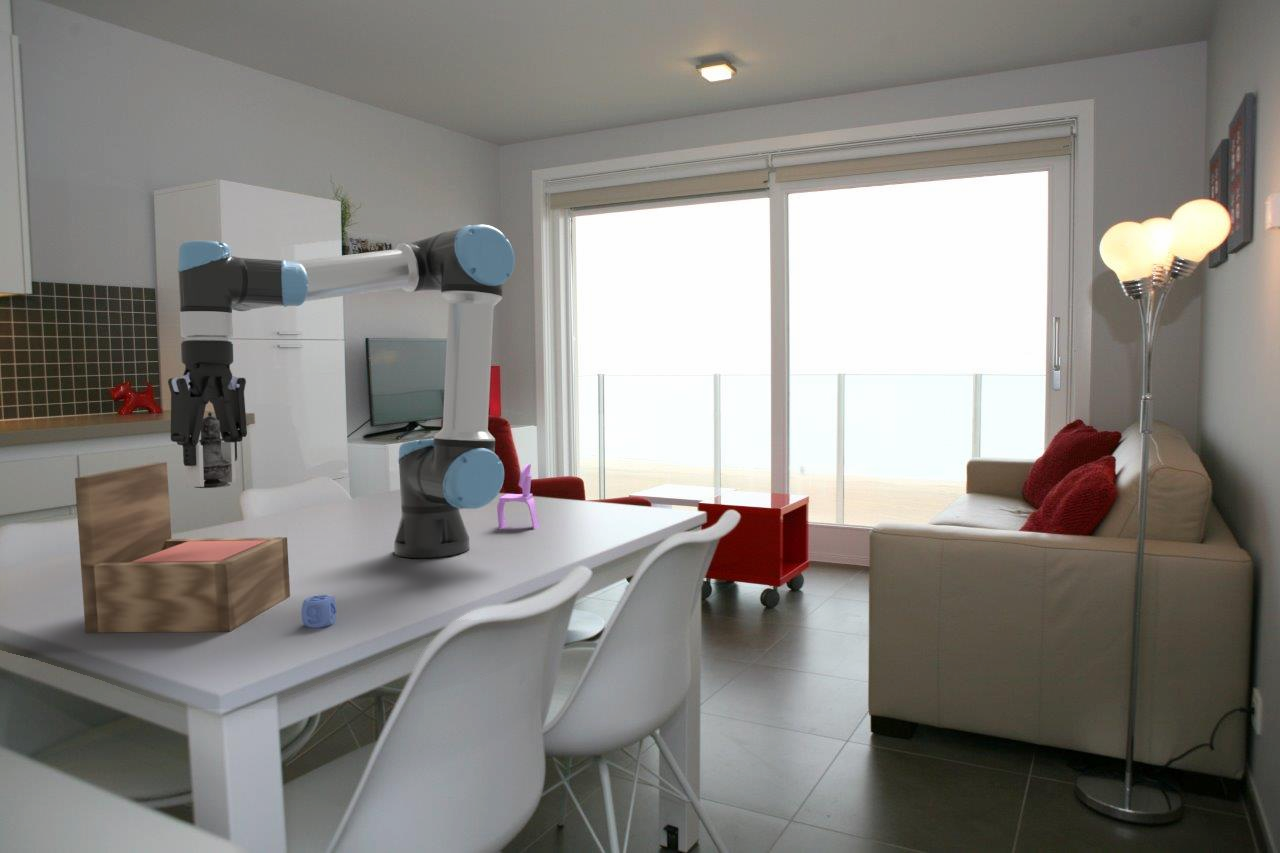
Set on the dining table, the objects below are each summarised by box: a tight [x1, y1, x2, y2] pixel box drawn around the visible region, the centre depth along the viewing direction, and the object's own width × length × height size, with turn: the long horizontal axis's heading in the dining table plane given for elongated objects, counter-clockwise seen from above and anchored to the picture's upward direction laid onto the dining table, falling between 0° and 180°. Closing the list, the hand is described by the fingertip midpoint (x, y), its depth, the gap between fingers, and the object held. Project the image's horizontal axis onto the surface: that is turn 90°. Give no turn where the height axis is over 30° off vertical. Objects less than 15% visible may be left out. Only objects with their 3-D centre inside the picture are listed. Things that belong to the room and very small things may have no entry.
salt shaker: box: [194, 411, 231, 489], centre depth 147 cm, size 6×6×12 cm
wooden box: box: [74, 461, 291, 633], centre depth 143 cm, size 22×20×23 cm
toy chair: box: [496, 462, 541, 531], centre depth 213 cm, size 8×9×15 cm
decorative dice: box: [301, 594, 337, 629], centre depth 136 cm, size 4×4×4 cm
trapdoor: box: [131, 540, 268, 563], centre depth 143 cm, size 14×15×1 cm
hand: (211, 483), depth 147 cm, fingers closed on salt shaker, 6 cm apart
